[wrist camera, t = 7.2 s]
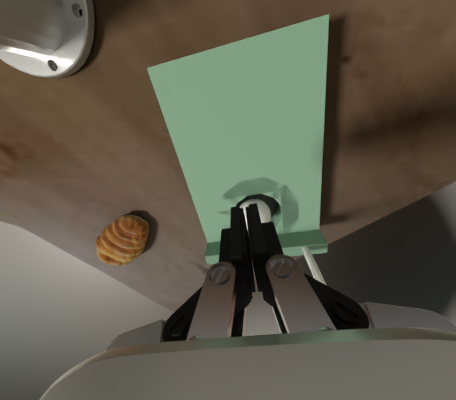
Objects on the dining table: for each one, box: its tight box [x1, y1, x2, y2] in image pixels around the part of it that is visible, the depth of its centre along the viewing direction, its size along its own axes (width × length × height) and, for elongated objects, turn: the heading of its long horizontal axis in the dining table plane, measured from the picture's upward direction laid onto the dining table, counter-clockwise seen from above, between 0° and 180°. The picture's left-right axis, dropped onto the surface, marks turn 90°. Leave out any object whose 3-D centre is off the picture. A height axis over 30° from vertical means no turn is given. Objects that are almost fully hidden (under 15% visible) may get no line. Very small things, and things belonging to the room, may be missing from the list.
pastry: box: [96, 214, 150, 266], centre depth 27 cm, size 9×7×4 cm
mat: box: [147, 14, 329, 264], centre depth 19 cm, size 22×15×5 cm
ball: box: [240, 199, 271, 230], centre depth 22 cm, size 4×4×4 cm
